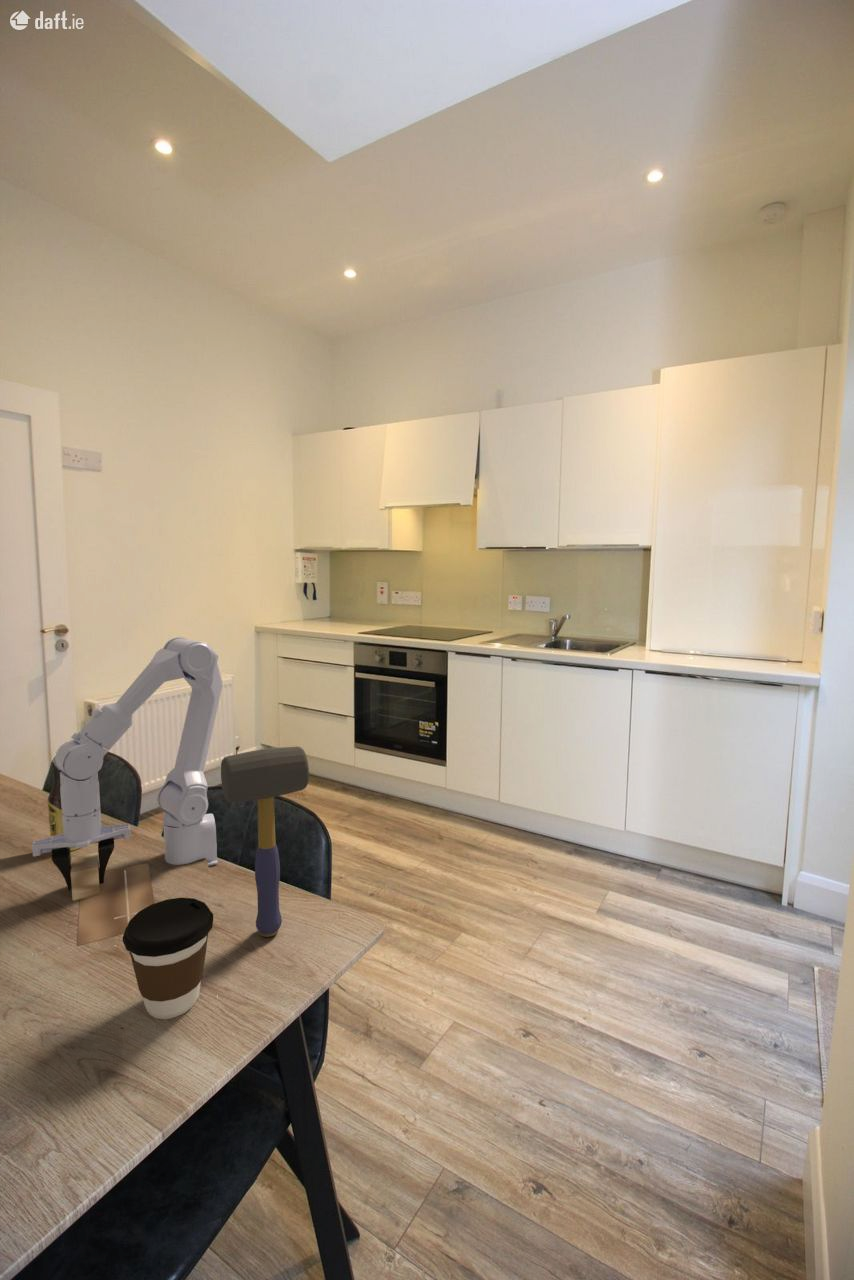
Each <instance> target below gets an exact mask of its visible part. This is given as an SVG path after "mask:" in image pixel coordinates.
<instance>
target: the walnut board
mask: <svg viewBox="0 0 854 1280" xmlns="http://www.w3.org/2000/svg"><path fill="white" fill-rule="evenodd" d="M151 877H152V876H151V871H150V865H149V862H145V863H142V864H137V865H133V866H128V867H123V868H118V869H114V870H109V871H105V875H104V883H102V884H100V895H96V896H91V897H87V898H82V899H79V910H78V912H79V913H78V923H77V924H78V925H77V926H78V927H77V940H76V946H77V947H79V946H81V945H82V946H83V945H87V944H89V943H94V942H97V941H101V940H104V939H108V938H113V937H115V936H119V935H121V936H122V935H124V932H125V929H126V927H127V926H128V923H129V921H130V920H131V919H132V918H133V917H134V916H135V915H136V914H137V913H138V912H139V911H141V910H143V909H144V908H146V907H148V906H150V905H152V904H155V903H156V902H155V897H154V891H153V884H152V878H151Z"/></svg>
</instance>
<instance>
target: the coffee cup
mask: <svg viewBox="0 0 854 1280" xmlns="http://www.w3.org/2000/svg"><path fill="white" fill-rule="evenodd" d="M213 925H214V913H213V912H212V910H211V909H210V908H209V906H208V905H207V904H206V903H205V902H204V901H202V900H199V899H196V898H192V897H175V898H169V899H164V900H161V901H159V902H155V904H152V905H150V906H148V907H146V908H144V909H143V910H141V911H139V912H138V913H137V914H136V915H135V916H134V917H133V918H132V919H131V920H130V921H129V923H128V926H127V927H126V929H125V932H124V934H122V935H123V936H122V943H123V945H124V947H125V950H126V951H128V952H129V955H130V958H131V964H132V966H133V972H134V975H135V978H136V982H137V983H136V984H137V987H138V990H139V993H140V995H141V997H142V1000H143V1005H144V1007H145V1010H146V1012H147V1013H148V1014H149V1015H150V1016H151V1017H153V1018H155V1019H157V1020H158V1019H159V1020H160V1019H161V1020H168V1019H175V1018H177V1017H179V1016H180V1015H183V1014H185V1013H186V1012H188V1011H189V1010H190V1009H191V1008H193V1006H194V1004H195V1003H196V1002H197V1000H198V998H199V996H200V990H201V981H202V980H203V978H204V977H203V976H204V969H205V962H206V955H207V948H208V947H207V945H208V938H209V933H210V932H211V930H212V928H213V927H214V926H213Z"/></svg>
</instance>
